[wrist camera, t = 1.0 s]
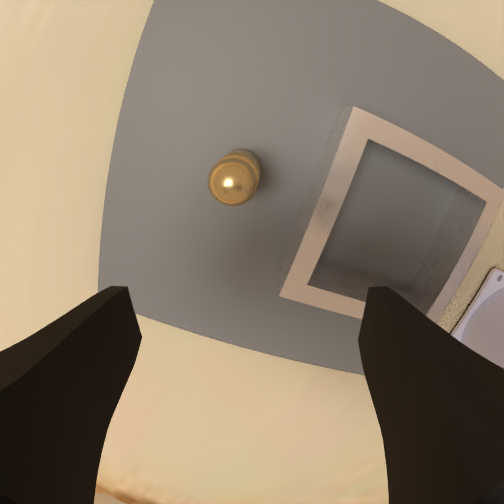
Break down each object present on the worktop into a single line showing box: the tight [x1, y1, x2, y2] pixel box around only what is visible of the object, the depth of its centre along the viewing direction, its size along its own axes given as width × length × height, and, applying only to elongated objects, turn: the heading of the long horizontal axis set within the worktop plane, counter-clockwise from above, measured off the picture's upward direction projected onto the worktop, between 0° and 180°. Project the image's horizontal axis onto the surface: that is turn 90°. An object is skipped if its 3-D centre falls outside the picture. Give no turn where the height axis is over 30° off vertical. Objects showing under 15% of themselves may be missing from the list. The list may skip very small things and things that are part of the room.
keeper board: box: [98, 0, 504, 375], centre depth 16 cm, size 22×22×1 cm
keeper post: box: [208, 148, 261, 207], centre depth 14 cm, size 2×2×5 cm
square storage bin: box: [279, 106, 504, 323], centre depth 14 cm, size 9×9×3 cm
